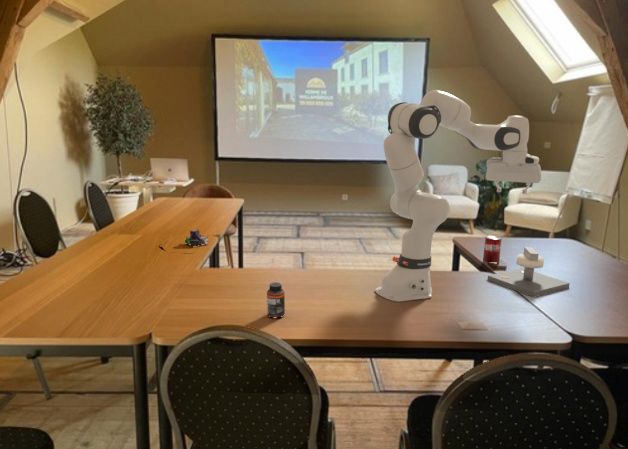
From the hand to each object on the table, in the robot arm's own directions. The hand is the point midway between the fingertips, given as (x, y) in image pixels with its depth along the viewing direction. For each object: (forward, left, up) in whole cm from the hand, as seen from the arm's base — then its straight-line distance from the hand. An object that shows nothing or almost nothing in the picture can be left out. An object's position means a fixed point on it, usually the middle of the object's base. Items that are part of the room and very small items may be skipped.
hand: (511, 192), depth 192 cm
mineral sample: (-96, +116, -38) cm, 155 cm away
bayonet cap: (+7, -6, -29) cm, 31 cm away
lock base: (+7, -7, -37) cm, 39 cm away
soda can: (+18, +21, -38) cm, 47 cm away
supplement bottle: (-98, +12, -38) cm, 106 cm away
